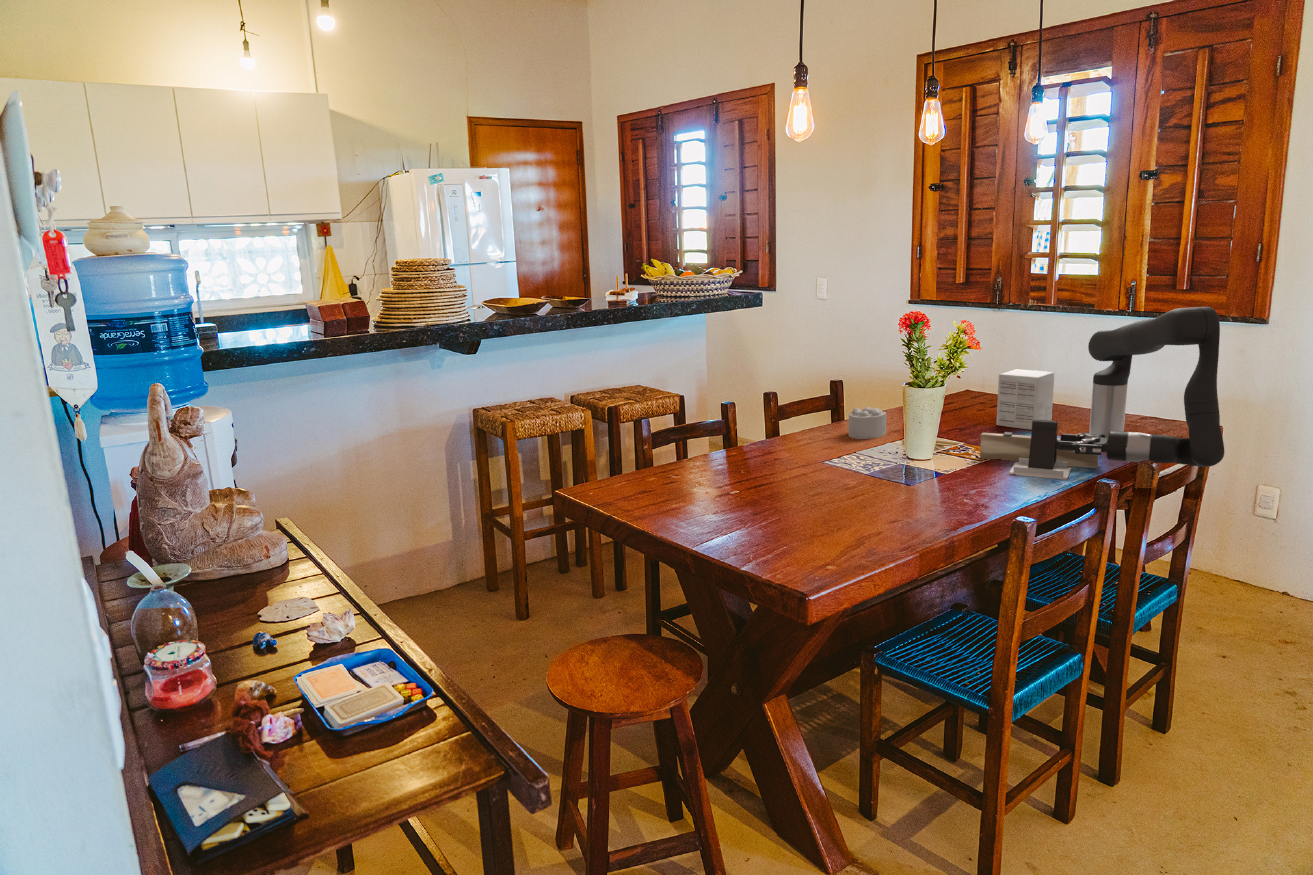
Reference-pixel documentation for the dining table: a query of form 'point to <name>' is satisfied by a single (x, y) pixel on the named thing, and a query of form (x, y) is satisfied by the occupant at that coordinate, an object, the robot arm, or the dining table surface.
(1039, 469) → the keeper plate
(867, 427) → the lumpy-topped squat cylinder
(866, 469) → the dining table surface
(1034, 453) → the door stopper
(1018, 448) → the door board
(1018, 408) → the supplement box
